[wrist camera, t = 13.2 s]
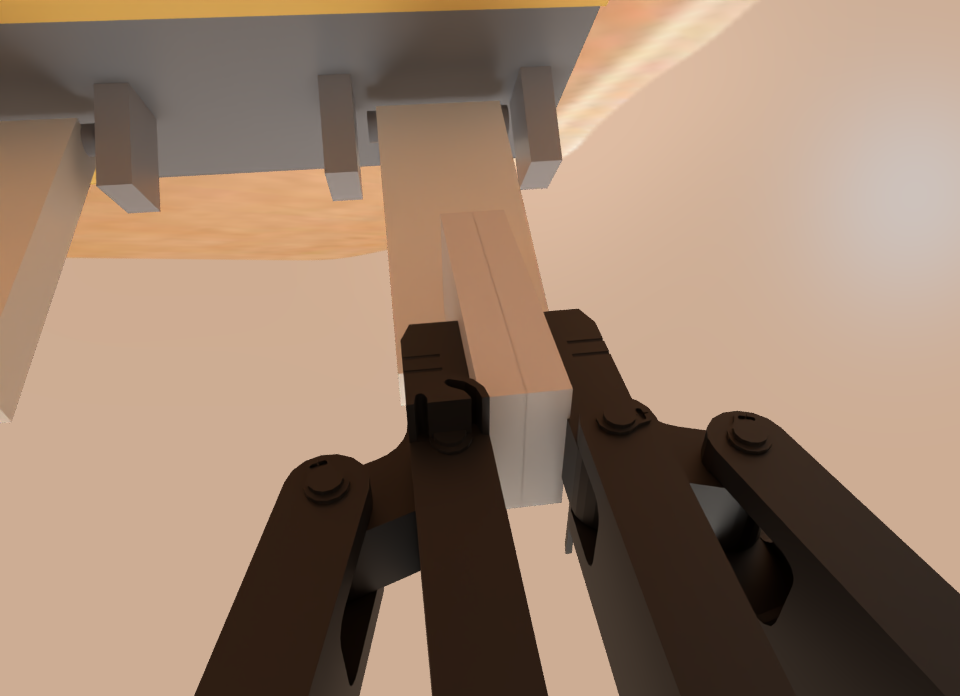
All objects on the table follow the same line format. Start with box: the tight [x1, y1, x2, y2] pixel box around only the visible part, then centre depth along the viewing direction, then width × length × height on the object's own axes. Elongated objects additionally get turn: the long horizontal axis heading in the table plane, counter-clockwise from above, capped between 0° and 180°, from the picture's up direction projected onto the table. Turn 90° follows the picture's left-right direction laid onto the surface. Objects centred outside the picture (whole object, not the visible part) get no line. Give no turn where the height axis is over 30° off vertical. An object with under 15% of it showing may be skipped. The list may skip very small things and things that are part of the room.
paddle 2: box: [367, 101, 548, 406], centre depth 21 cm, size 5×2×10 cm, turn 84°
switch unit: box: [0, 0, 609, 213], centre depth 22 cm, size 22×12×5 cm, turn 84°
